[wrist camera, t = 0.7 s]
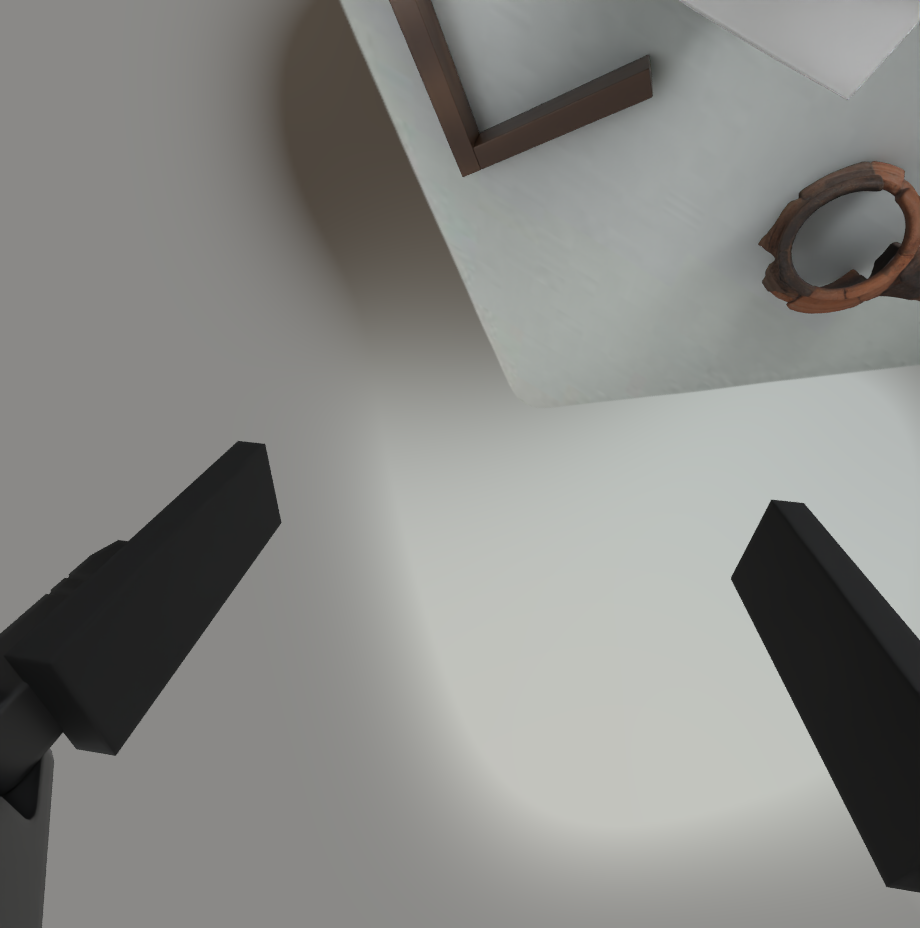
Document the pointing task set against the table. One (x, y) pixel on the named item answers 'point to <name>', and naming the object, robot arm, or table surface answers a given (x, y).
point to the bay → (522, 129)
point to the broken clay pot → (894, 273)
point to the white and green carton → (819, 34)
